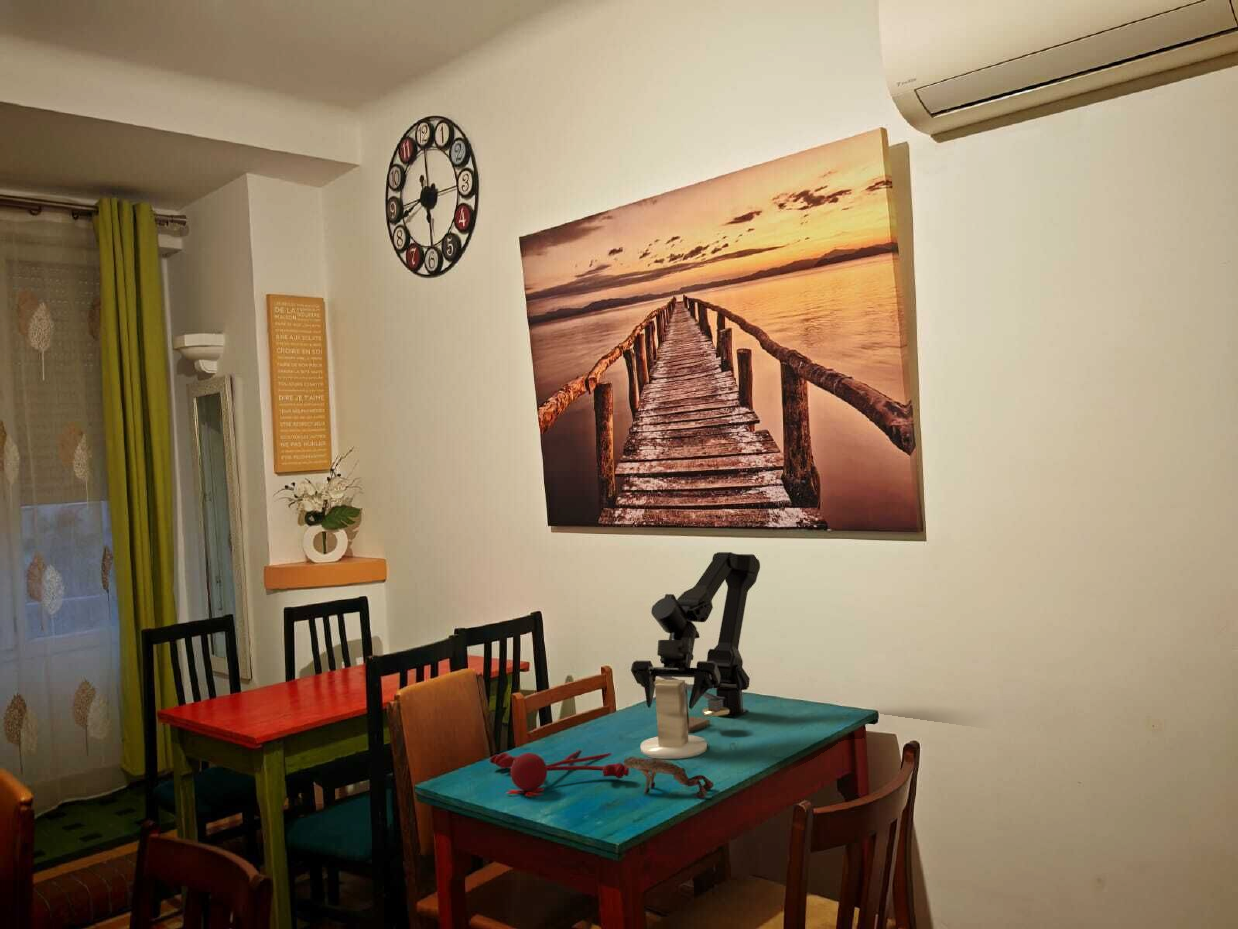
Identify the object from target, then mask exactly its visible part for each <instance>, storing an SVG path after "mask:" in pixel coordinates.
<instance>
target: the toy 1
mask: <svg viewBox="0 0 1238 929" xmlns="http://www.w3.org/2000/svg"><path fill="white" fill-rule="evenodd" d="M581 753H582V750H581V749H579V750H577V751H574V752H573V753H571V754H570V755H568V756H566V757H565V758H563V760H560V761H556V762H553V763H550V764H546V762H545V760H544V759H543V758H542V757H541V756H540V755H539V754H537V753H534V752H525V753H523V754H520V755H518V756H512V755H510V754H508V753H507V752H502V753H500V754H497V755H493V756H491V757H490V758H489V763H491V764H495V765H496V766H497V767H500V768H501V769H508V768H510V778H511V781H512V783H513V785H515V787H516V788H518V790H517V789H510V790H509V792H505V794H507V795H508V794H509V795H517V794H518V795H519V794H524V793H525V796H526V797H533V796H540V795H542V793H540V792H542V791H544V790H545V788H540V787H541V786H542V785H543V784H544V783H545V781H546V779H547V775H548V772H550V771H552V772H553V771H602V775H603V777H605V778H606V777H616V778H617V779H622V778H623V777H628V776H629V775H630V768H629V767H626V766H624V763H621V762H617V763H614V764H613V763H612V764H606V765H603V766H601V765H571V764H576V763H582V762H589V761H594V760H598V759H600V760H601V759H603V758H606V757H607V756H608V757H609V756H611V755H612V753H610V752H609V753H602V754H597V755H591V756H585V757H579V758H575V757H577V756H578V755H579V754H581ZM605 756H606V757H605ZM568 764H570V765H568ZM519 789H520V790H519Z"/></svg>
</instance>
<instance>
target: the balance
mask: <svg viewBox="0 0 1238 929" xmlns="http://www.w3.org/2000/svg"><path fill="white" fill-rule="evenodd" d="M657 677H658V679H657V678H656V680H655V682H654V684H657V683H658V682H660V681H661V680H679V679H678V678H676V677H665V676H657ZM692 688H693V685H691V684H689V683H687V682H685V692H686V708H687V725H688V734H690V733H693V732H695V731H698V730H699V729H702V728H704V727H707V726H710V725H711V719H710V718H704V717H699V716H698V717H697V716H696V717H695V716H690V715H689V702H688V691H690V692H692ZM701 697H703V698H706V699H708V700H707V705H708V706H707V707H706V708H704V709H702V715H704V716H708V717H724V716H723V715H727V714H729V709H728V708H725V707H723V699H720V698H717V696H716V695H714V694H712V693H709V692H707V691H706V692H705V693H704V694H703V695H702V696H701Z"/></svg>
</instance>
